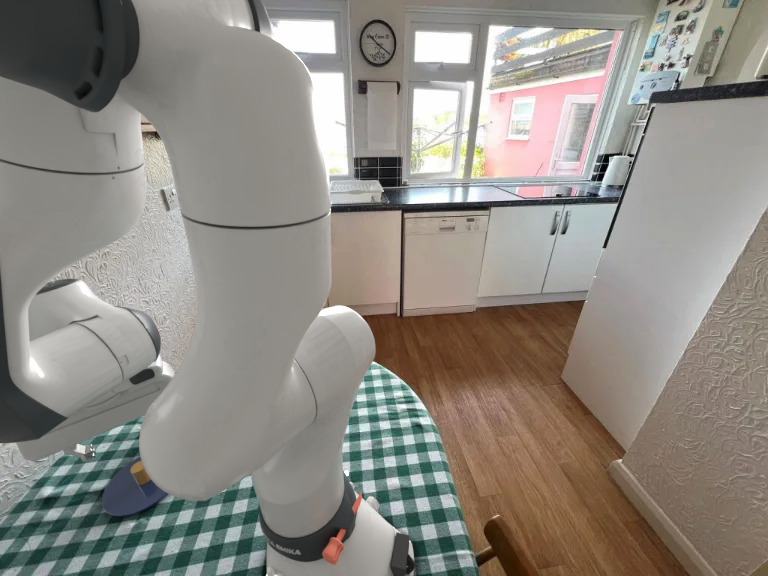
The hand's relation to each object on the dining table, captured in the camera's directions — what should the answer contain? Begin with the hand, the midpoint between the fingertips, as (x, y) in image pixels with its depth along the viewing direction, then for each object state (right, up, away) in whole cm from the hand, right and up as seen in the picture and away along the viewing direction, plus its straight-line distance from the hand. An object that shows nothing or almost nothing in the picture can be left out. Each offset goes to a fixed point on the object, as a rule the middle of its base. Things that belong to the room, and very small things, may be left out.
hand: (125, 441), depth 54 cm
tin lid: (0, -9, +4) cm, 10 cm away
